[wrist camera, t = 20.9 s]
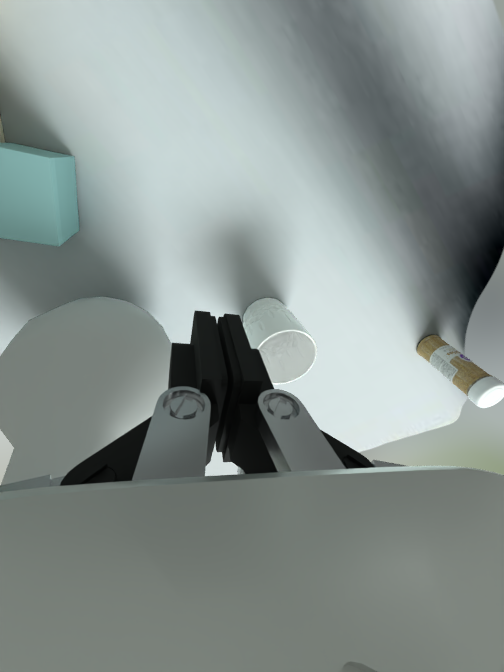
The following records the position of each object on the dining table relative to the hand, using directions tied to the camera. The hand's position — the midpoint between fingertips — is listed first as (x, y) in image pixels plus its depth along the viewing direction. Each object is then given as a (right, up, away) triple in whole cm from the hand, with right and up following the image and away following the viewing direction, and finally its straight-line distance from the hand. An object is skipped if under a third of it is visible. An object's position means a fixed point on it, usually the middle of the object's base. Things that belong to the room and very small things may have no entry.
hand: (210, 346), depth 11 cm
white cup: (+3, +3, +32) cm, 32 cm away
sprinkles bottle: (+33, -1, +41) cm, 53 cm away
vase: (-17, +1, +28) cm, 33 cm away
